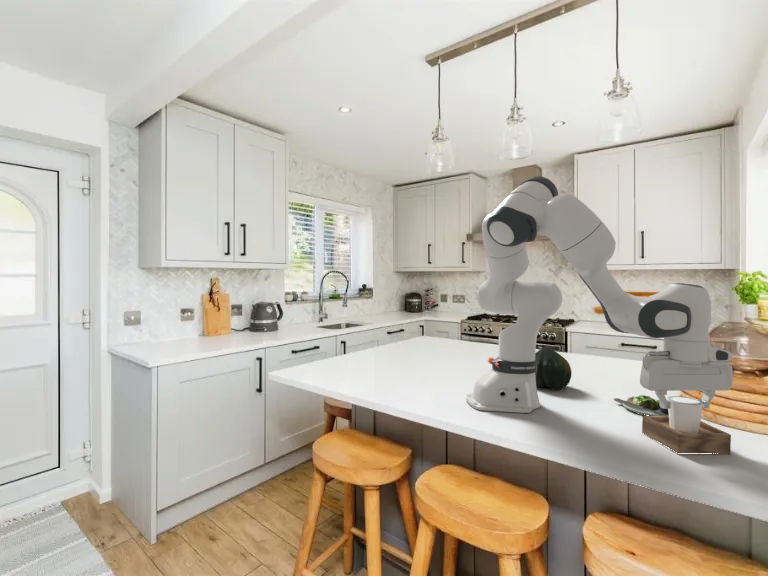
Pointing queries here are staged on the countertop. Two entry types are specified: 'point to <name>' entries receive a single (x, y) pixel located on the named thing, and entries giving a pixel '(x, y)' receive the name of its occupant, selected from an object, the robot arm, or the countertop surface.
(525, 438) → the countertop surface
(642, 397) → the salad plate
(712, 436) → the walnut stand
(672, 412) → the shot glass
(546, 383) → the squash
